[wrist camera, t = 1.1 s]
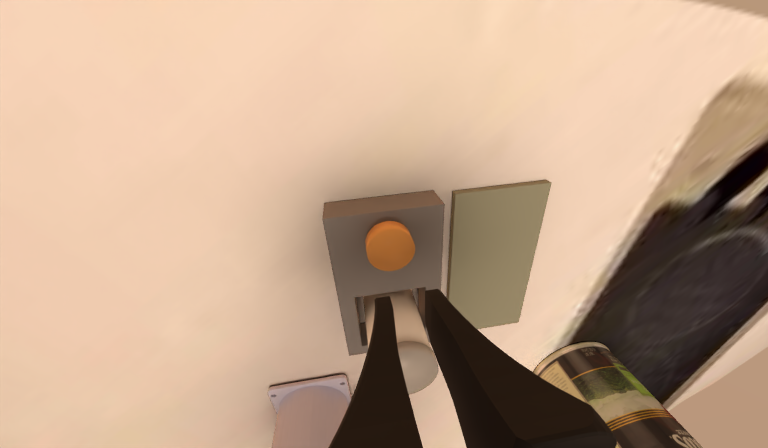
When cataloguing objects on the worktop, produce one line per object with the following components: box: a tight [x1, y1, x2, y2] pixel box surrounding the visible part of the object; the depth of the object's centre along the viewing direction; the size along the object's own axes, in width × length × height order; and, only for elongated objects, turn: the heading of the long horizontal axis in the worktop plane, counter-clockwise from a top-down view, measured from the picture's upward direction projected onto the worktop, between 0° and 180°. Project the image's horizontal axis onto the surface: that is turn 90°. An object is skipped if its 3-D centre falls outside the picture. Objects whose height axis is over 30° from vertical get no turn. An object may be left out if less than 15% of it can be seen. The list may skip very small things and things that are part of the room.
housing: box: [323, 190, 444, 356], centre depth 23 cm, size 14×8×2 cm, turn 4°
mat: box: [447, 180, 551, 329], centre depth 25 cm, size 15×8×1 cm, turn 4°
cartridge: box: [363, 289, 438, 394], centre depth 22 cm, size 5×5×8 cm
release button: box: [365, 221, 415, 271], centre depth 19 cm, size 3×3×4 cm
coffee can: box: [533, 342, 702, 448], centre depth 29 cm, size 10×10×14 cm
